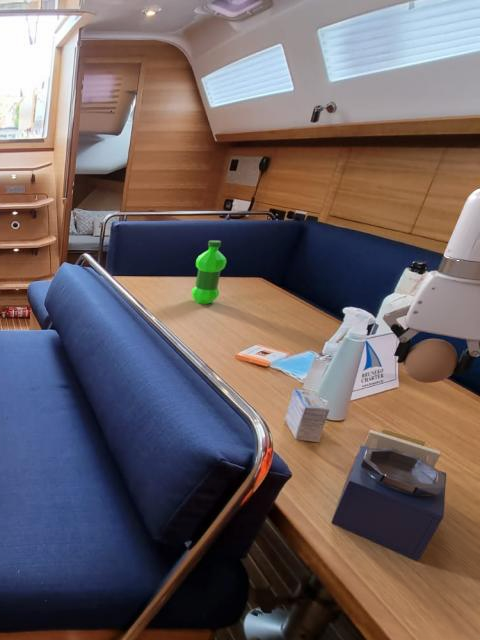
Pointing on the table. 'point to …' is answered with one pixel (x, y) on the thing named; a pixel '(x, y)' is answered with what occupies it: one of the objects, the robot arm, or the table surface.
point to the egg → (431, 360)
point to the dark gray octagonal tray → (402, 472)
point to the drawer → (402, 444)
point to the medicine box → (306, 415)
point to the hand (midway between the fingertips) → (427, 365)
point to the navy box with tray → (387, 513)
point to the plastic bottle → (208, 274)
